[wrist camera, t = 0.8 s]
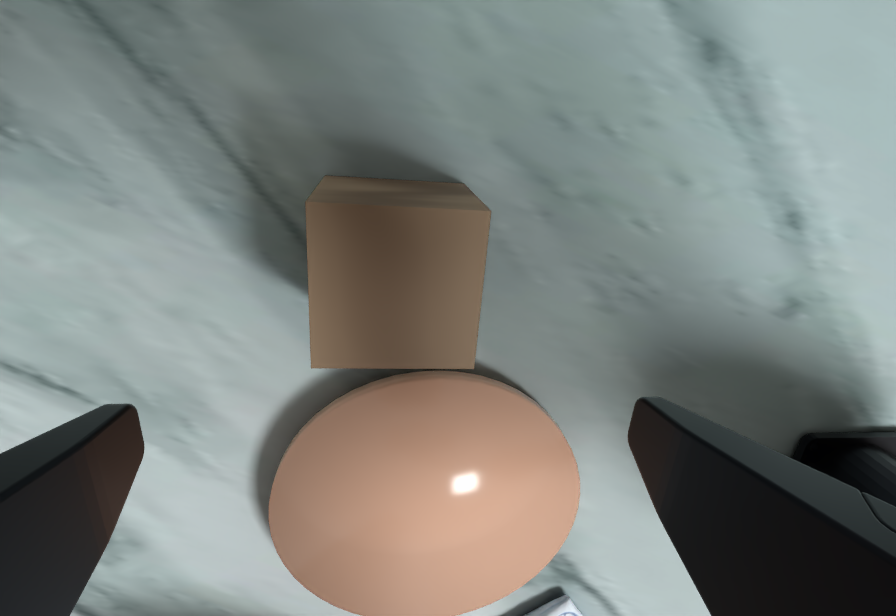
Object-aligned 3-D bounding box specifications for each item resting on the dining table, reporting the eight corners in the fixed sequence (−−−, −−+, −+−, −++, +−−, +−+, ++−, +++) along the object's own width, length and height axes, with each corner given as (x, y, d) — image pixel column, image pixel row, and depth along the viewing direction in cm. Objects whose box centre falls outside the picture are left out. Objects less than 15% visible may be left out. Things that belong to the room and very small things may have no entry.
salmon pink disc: (593, 364, 22) (606, 380, 21) (546, 587, 27) (554, 611, 26) (264, 362, 20) (256, 380, 19) (282, 603, 25) (277, 630, 24)
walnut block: (463, 183, 18) (491, 211, 14) (453, 307, 20) (473, 369, 16) (325, 174, 18) (305, 201, 13) (327, 305, 19) (310, 368, 15)
